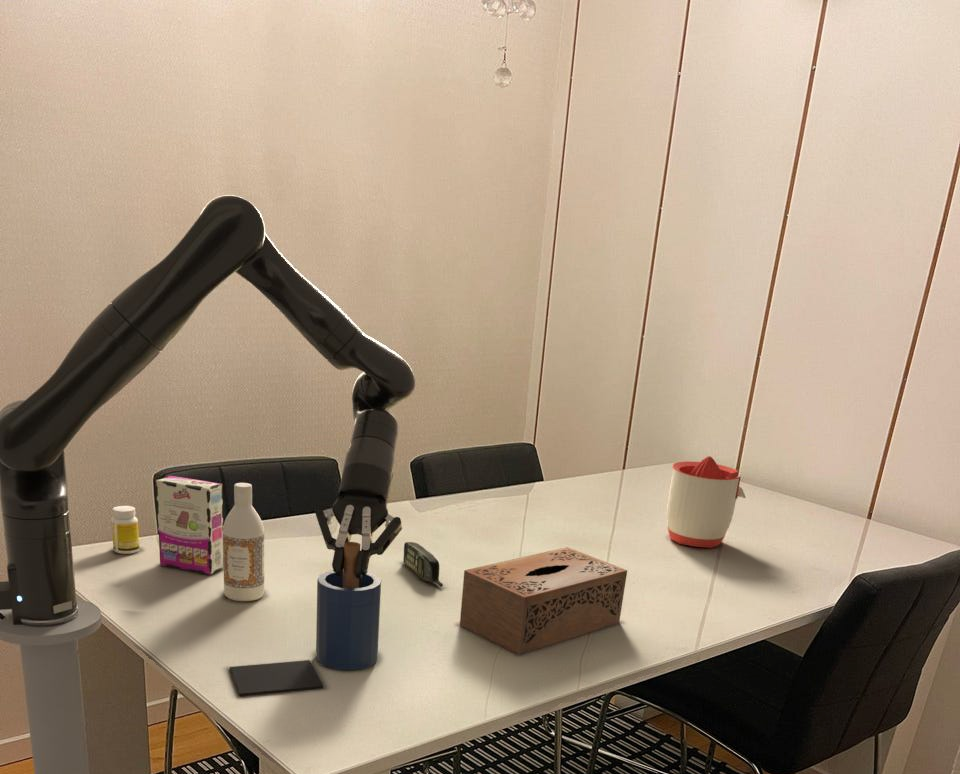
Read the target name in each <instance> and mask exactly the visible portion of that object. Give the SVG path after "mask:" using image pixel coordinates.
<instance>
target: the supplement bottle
mask: <svg viewBox="0 0 960 774" xmlns="http://www.w3.org/2000/svg"><path fill="white" fill-rule="evenodd" d="M112 516H113V517H112V518H111V533H112V534H111V535H112V545H113V551H114V552H115V553H117V554H121V555H130V554H134V553H137V552H139V551H140V536H139V535H140V534H139V533H140V532H139V519H138V518H137V517H136V508H135V507H134V506H131V505H117V506H114V507H112Z"/></svg>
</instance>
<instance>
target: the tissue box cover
mask: <svg viewBox="0 0 960 774" xmlns="http://www.w3.org/2000/svg"><path fill="white" fill-rule="evenodd" d="M627 575H628V569H624V568H622V567H619V566H616V565H615V564H612V563H609V562H607V561H604V560H601V559H599V558H597V557H594V556H591V555H588V554H586V553H583V552H580V551H578V550H576V549H573V548H570V547H568V546H567V547H562V548H557V549H553V550H548V551H544V552H540V553H535V554H530V555H527V556H522V557H518V558H513V559H509V560H505V561H500V562H495V563H490V564H486V565H482V566H478V567H474V568H469V569H464V571H463V581H462V593H461V606H460V617H459V626H461V627H463V628H465V629H467V630H469V631H471V632H473V633H475V634H477V635H478V636H481V637H482V638H485V639H486V640H489V641H491V642H493V643H495V644H497V645H498V646H501V647H503V648H505V649H507V650H509V651H511V652H512V653H514V654H517V655H521V654H525V653H528V652H532V651H535V650H537V649H540V648H544V647H547V646H550V645H554V644H557V643H560V642H563V641H566V640H570V639H572V638H575V637H578V636H579V637H580V636H582V635H585V634H588V633H592V632H594V631H597V630H598V631H599V630H601V629H605V628H608V627H610V626H613V625H616V624H619V623H620V621H621V614H622V608H623V602H624V594H625V589H626V588H625V587H626V583H627V582H626V581H627Z"/></svg>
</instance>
